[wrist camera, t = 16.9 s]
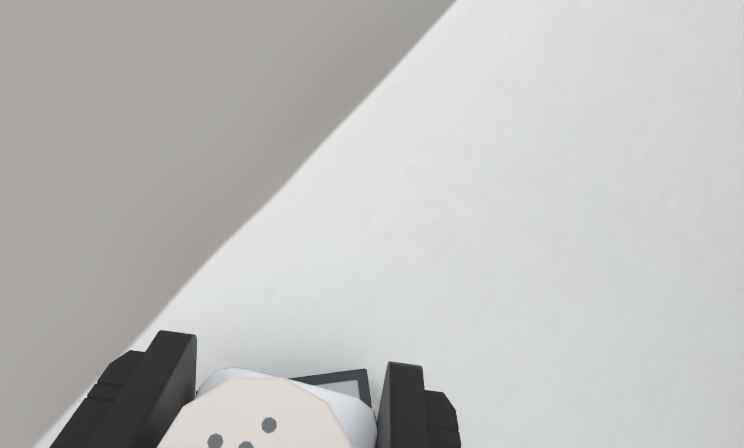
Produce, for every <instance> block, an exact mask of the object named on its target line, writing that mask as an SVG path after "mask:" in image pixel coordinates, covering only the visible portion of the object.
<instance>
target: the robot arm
mask: <svg viewBox="0 0 744 448" xmlns="http://www.w3.org/2000/svg"><path fill="white" fill-rule="evenodd" d="M196 357H197V338H196V335H193V334H185V333H178V332H171V331H163V330H161V331H159V332H158V333H157V335H156V336H155V338H154V339H153V341H152V343H151V344H150V346H149V347H148V349H147V350H146V352H140V351H132V350H130V351H128V352H127V353H125V354H124V355H122V356H121V357H119V358H118V359H116V360H115V361H113V362H112V363H110V364H109V365H108V367H107V368H106V370H105V371H104V372H103V374H102V375H101V377H100V378H99V379H98V382H97V384H95V385H94V386H93V388H92V389H91V391H90V392H89V393H88V395H87V398H85V399H84V400H83V402H82V403H81V404H80V406H79V407H78V409H77V410H76V411H75V413H74V414H73V416H72V417H71V418H70V420H69V421H68V423H67V424H66V425H65V427H64V428H63V430H62V431H61V432H60V434H59V435H58V437H57V438H56V439H55V441H54V442H53V444H52V445H51V446H50V448H157V446H158V445H159V443H160V442H161V440H162V439H163V437H164V436H165V434H166V432H167V431H168V429H169V428H170V426H171V425H172V423H173V421H174V420H175V418H176V417H177V415H178V414H179V412H180V411H181V409H182V407H183V406H185V405H186V404H188V403H190V402H192V401H193V400H194V398H195V382H196ZM377 428H378V434H377V442H376V448H461V441H460V434H459V432H458V429H459V428H458V422H457V416H456V410H455V408H454V407H453V406H452V404H451V403H450V401H449V400H448V398H447V397H446V396H445V394H444V393H443V392H436V391H428V390H424V380H423V369H422V366H419V365H412V364H404V363H397V362H390V361H389V362H388V365H387V369H386V375H385V380H384V385H383V391H382V396H381V401H380V407H379V412H378V417H377Z"/></svg>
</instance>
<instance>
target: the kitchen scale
mask: <svg viewBox="0 0 744 448" xmlns="http://www.w3.org/2000/svg"><path fill="white" fill-rule="evenodd" d="M290 380H294V381H298V382H302V383H305V384H309V385H313V386H317V387H321V388H324V389H328V390H332V391H335V392H339V393H342V394H346V395H350V396H353V397H357V398H359V399H360V400H361V401H363V402H364V403H365V404H366V405H367V406H369V407H370V408H371V409H372V406H371V398H370V391H369V384H368V376H367V370H366V369H359V370H351V371H343V372H336V373H328V374H320V375H313V376H305V377H297V378H290ZM197 392H198V391H196V395H197Z"/></svg>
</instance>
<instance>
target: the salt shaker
mask: <svg viewBox="0 0 744 448" xmlns="http://www.w3.org/2000/svg"><path fill="white" fill-rule="evenodd" d="M377 434H378V428H377V422H376V417H375V412H374V411H373V410H372V409H371V408H370V407H369V406H367V405H366V404H365V403H364V402H363V401H361V400H360V399H359V398H357V397H353V396H350V395H346V394H342V393H339V392H335V391H332V390H328V389H324V388H321V387H317V386H313V385H309V384H305V383H302V382H298V381H294V380H290V379H286V378H284V377H277V376H273V375H269V374H264V373H260V372H255V371H250V370H246V369H241V368H236V367H233V368H228V369H223V370H218V371H214V372H213V373H212V375H211V376H210V377H209V378H208V379H207V380H206V381H205V382H204V383H203V384H202V385H201V386H200V387H199V390H198V392H197V395H196V397H195V400H193V401H192V402H190V403H188V404H186V405H185V406H183V407H182V409H181V411H180V412H179V414H178V415H177V417H176V418H175V420H174V421H173V423H172V425H171V426H170V428H169V429H168V431H167V432H166V434H165V436H164V437H163V439H162V440H161V442H160V443H159V445H158V446H157V448H376V442H377Z"/></svg>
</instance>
